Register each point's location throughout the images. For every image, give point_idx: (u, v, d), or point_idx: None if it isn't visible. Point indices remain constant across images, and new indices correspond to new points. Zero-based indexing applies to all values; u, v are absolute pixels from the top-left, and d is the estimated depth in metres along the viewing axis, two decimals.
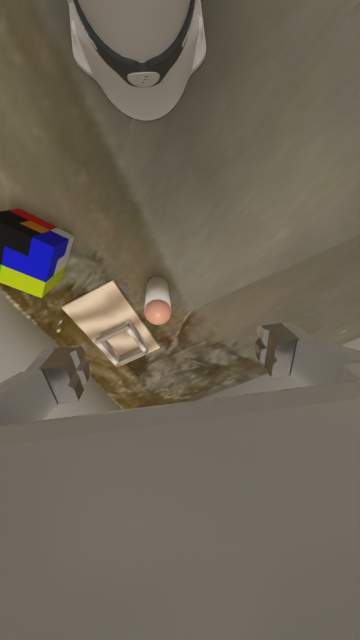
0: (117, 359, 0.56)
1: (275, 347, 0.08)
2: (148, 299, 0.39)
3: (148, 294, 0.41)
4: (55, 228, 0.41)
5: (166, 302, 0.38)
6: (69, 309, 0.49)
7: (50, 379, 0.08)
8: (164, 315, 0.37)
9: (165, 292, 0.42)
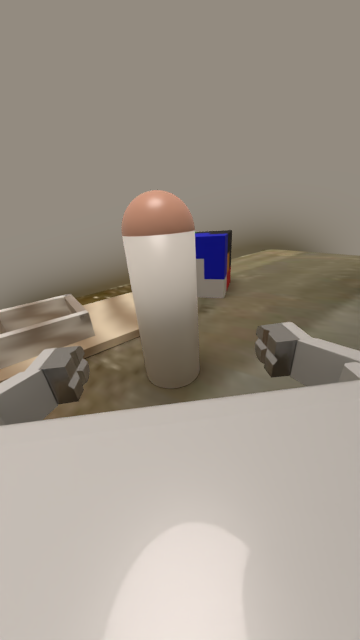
0: (5, 317, 0.26)
1: (275, 347, 0.08)
2: None
3: None
4: (226, 288, 0.38)
5: (189, 230, 0.13)
6: (128, 295, 0.37)
7: (50, 379, 0.08)
8: (163, 194, 0.13)
9: (193, 295, 0.15)
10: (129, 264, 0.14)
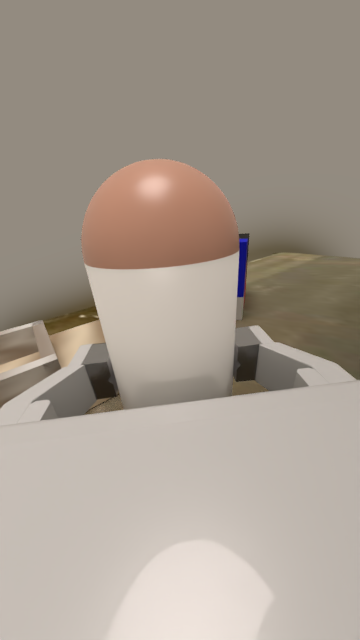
0: None
1: (237, 351, 0.08)
2: None
3: None
4: (243, 306, 0.31)
5: (234, 250, 0.06)
6: None
7: (91, 374, 0.08)
8: (175, 166, 0.05)
9: (230, 373, 0.08)
10: (101, 320, 0.07)
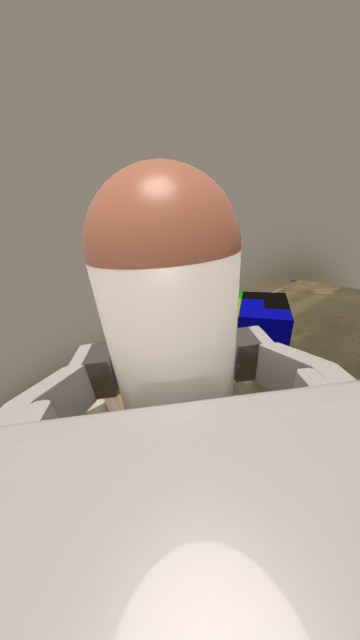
0: None
1: (237, 351, 0.08)
2: None
3: None
4: None
5: (236, 251, 0.06)
6: None
7: (91, 374, 0.08)
8: (177, 166, 0.05)
9: (231, 373, 0.08)
10: (102, 321, 0.07)
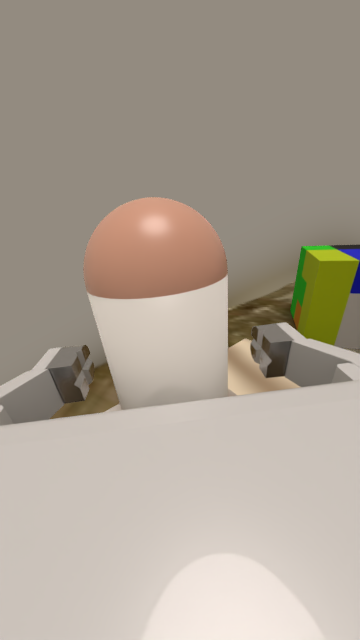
0: None
1: (269, 348, 0.08)
2: None
3: None
4: None
5: (222, 276, 0.06)
6: (247, 346, 0.24)
7: (56, 378, 0.08)
8: (165, 206, 0.06)
9: (224, 386, 0.08)
10: (102, 341, 0.07)
